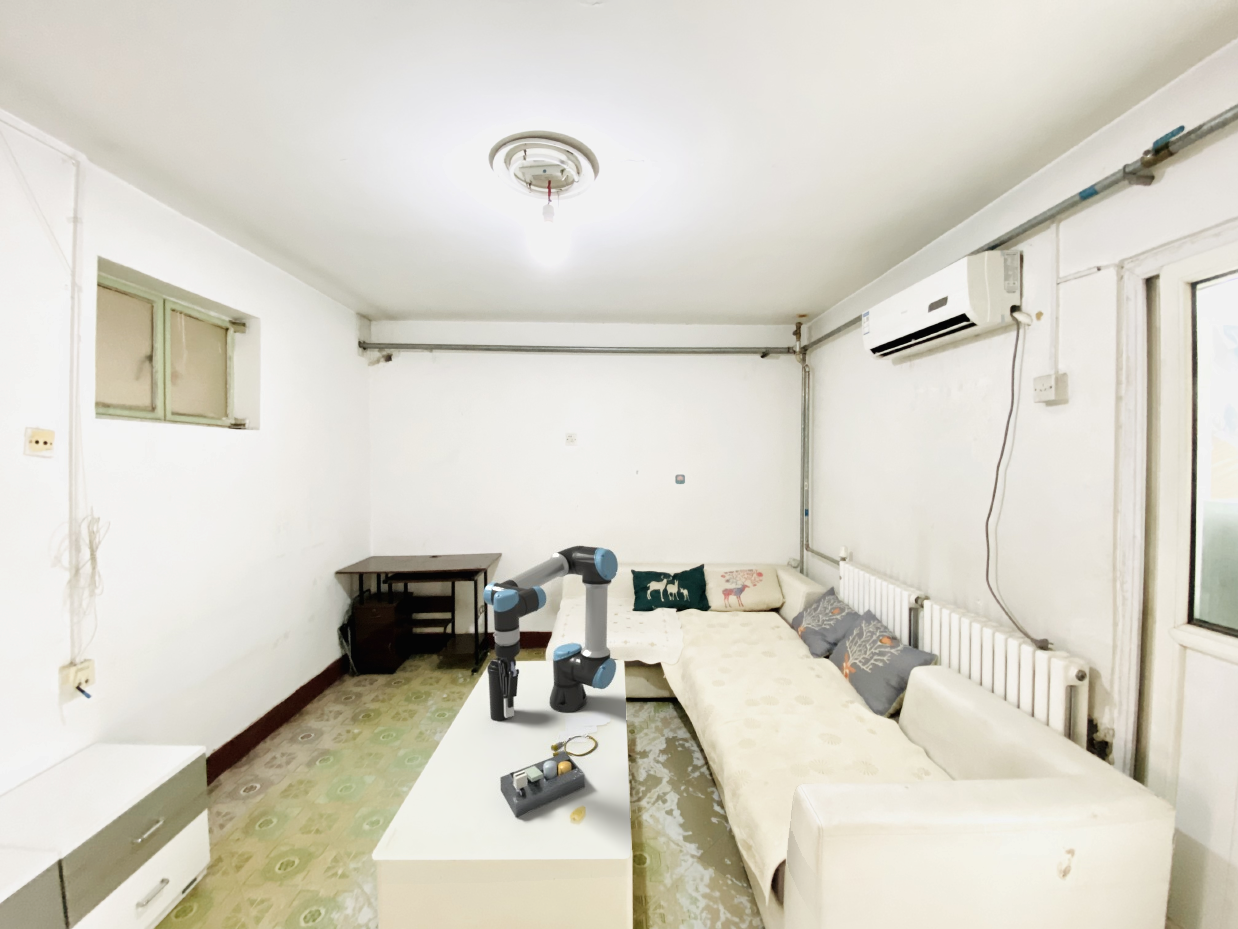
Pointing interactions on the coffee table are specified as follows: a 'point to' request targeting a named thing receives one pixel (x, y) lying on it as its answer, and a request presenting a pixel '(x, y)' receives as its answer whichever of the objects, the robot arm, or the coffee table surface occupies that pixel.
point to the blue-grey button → (550, 770)
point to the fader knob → (520, 779)
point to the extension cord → (558, 745)
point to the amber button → (564, 767)
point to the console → (541, 787)
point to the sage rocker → (533, 773)
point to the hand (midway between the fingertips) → (509, 715)
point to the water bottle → (495, 692)
